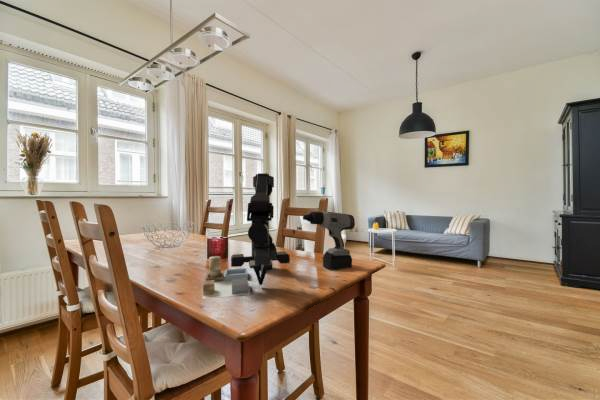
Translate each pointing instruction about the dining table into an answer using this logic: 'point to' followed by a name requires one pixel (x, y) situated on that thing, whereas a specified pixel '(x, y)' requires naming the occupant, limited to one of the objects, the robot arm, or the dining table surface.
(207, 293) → the bench dog
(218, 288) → the bench board
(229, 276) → the parts tray
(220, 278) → the dowel socket
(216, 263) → the oak dowel
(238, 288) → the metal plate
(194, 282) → the dining table surface
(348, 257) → the cordless drill
